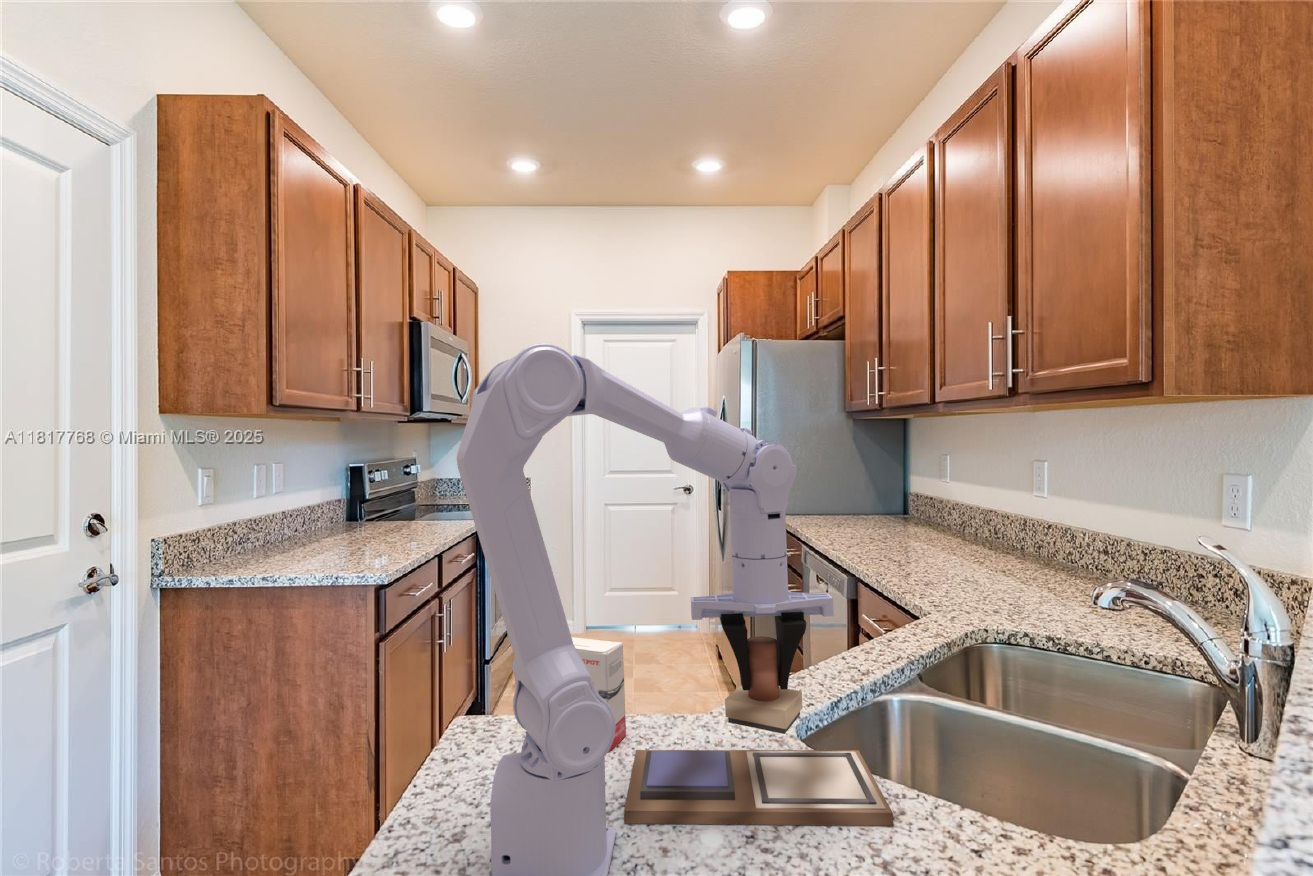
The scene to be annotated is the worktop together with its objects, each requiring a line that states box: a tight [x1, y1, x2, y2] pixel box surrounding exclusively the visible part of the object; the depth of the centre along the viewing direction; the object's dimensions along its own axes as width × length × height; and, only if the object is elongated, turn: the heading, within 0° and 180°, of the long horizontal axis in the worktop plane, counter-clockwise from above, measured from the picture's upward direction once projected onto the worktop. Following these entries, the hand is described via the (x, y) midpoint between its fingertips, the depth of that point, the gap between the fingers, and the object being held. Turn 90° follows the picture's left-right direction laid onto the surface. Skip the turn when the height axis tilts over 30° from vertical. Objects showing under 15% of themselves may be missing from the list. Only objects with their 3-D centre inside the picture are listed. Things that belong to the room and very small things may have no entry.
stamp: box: [724, 635, 803, 735], centre depth 64 cm, size 6×5×8 cm
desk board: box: [623, 749, 894, 827], centre depth 64 cm, size 25×12×2 cm, turn 87°
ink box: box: [571, 636, 627, 753], centre depth 76 cm, size 8×5×12 cm, turn 66°
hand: (763, 686), depth 64 cm, fingers closed on stamp, 3 cm apart
